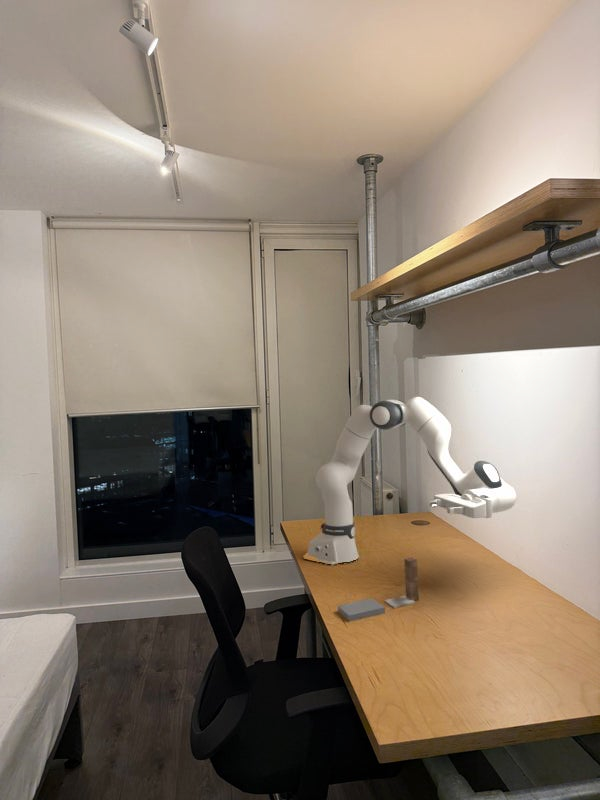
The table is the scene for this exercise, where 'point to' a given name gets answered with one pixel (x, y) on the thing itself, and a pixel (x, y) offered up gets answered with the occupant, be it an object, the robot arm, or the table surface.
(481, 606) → the table surface
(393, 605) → the brown and white bookend
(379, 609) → the tile
